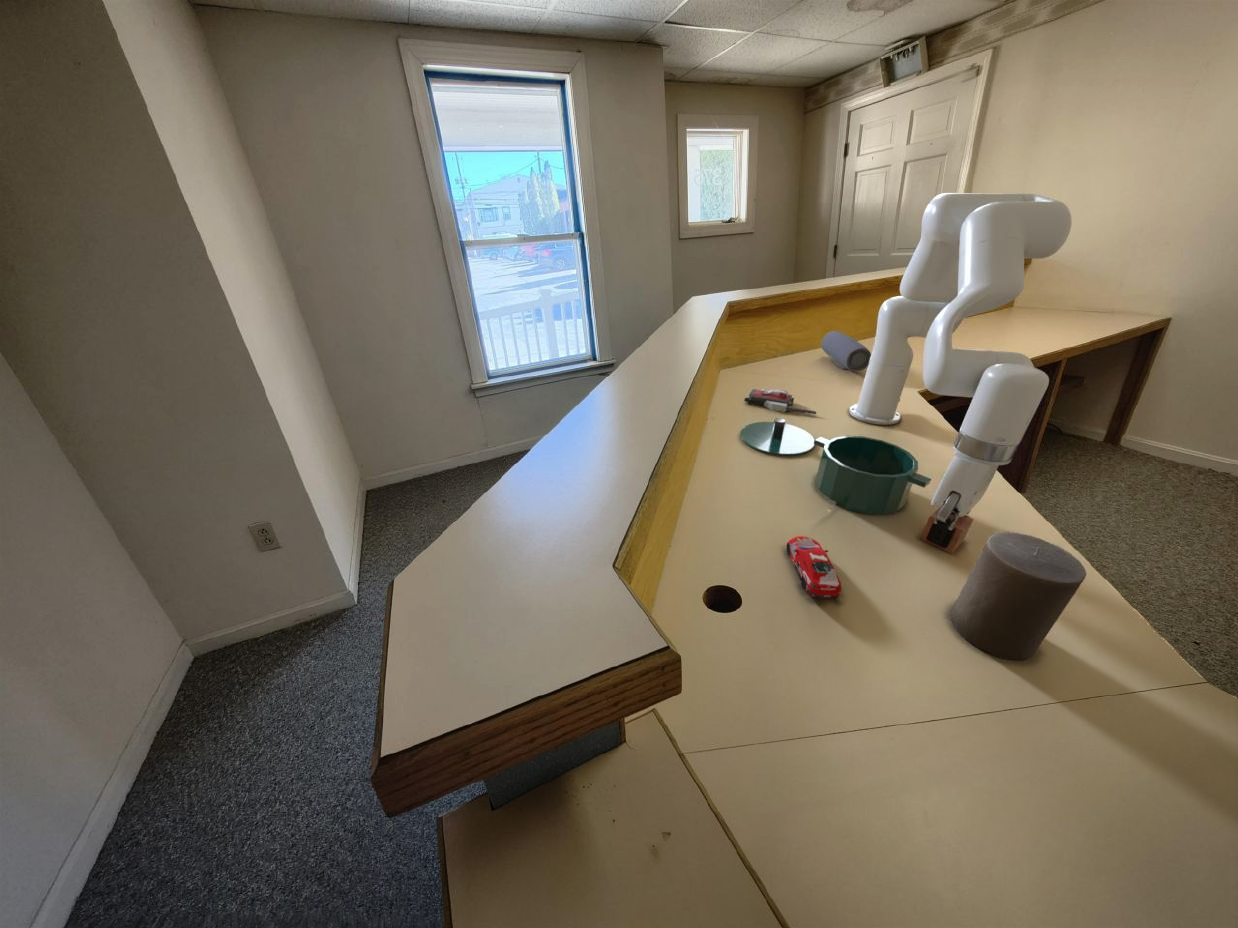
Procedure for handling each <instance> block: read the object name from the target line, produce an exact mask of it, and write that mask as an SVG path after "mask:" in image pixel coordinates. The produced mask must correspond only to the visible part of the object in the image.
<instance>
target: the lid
mask: <svg viewBox="0 0 1238 928" xmlns="http://www.w3.org/2000/svg"><path fill="white" fill-rule="evenodd" d="M739 438H740V440H741V442H742V443H744V444H745V445H746V446H748V448H751V449H752V450H755V451H757V452H759V453H764V454H766V455H767V454H768V455H771V456H777V457H778V456H781V457H795V456H801V455H805V454H808V453H809V452H811V451H812V450H813V449H814V448H815V446H816V445H815V444H814V440H815V438H814V437H813V436H812V434H811V433H810V432H808V431H807V430H805V429H803V428H801V427H799V426H795V425H793V424H789V423H786V419H785V418H782V417H776V418H774V420H773V421H758V422H752V423H749V424H747V425H745V426H743V428H741V430H740V433H739Z"/></svg>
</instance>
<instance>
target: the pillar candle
mask: <svg viewBox="0 0 1238 928" xmlns="http://www.w3.org/2000/svg"><path fill="white" fill-rule="evenodd" d="M1086 577H1087V571H1086V568H1085V566H1084V565H1083V564H1082V562H1081V561H1080V560H1079V559H1078V558H1076V557H1075V556H1074V555H1073V554H1072V553H1071V552H1070V551H1068V550H1065V549H1064V548H1063V547H1061V546H1059V545H1057V544H1054V543H1052V542H1049V541H1046V540H1044V539H1042V538H1040V537H1036V536H1033V535H1030V534H1025V533H1019V532H1013V531H1012V532H1011V531H1010V532H1009V531H996V532H994V533H993V534H992V535H990V536H989V538H988V539H987V541H986V542H985V544H984V547H983V549H982V551H981V553H980V555H979V557H978V559H977V560H976V563H975V564H974V565H973V568H972V570H971V572H970V573H969V576H968V577H967V580H966V581H965V583H964V585H963V586H962V588H961V590H960V592H959V594H958V596H957V598H956V600H955V602H954V605H953V607H952V608H951V609H952V610H951V613H950V619H951V622H952V624H953V627H954V628H955V629H956V631H957V632H958V633H959V635H960V636H961V637H962V638H963V639H965V640H966V641H967V642H969V643H970V644H971V645H972V646H974V647H975V648H977V649H979V650H981V651H983V652H985V653H986V654H990V655H992V656H995V657H997V658H1000V659H1003V660H1011V661H1023V660H1027V659H1030V658H1031V657H1033V655H1035V653H1037V651H1038V649H1039V648H1040V646H1041V644H1042V643H1043V641H1044V640H1045V638H1046V637H1047V636H1048V634H1049V633H1050V631H1051V629H1052V628H1053V627H1054V625H1055V624H1056V623H1057V621H1058V619H1059V618H1060V617H1061V615H1062V613H1063V612H1064V610H1065V609H1066V608H1067V605H1069V603H1070V601H1071V600H1072V599H1073V597H1074V595H1075V594H1076V592H1077V591H1078V590H1079V588H1080V586H1081V585H1082V584H1083V582H1084V581H1085V579H1086Z"/></svg>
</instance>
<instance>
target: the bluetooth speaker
mask: <svg viewBox="0 0 1238 928" xmlns="http://www.w3.org/2000/svg"><path fill="white" fill-rule="evenodd" d="M820 347H821V349H822V350H823V352H824V353H825V354H826V355H827V356H828V357H829V358H831V360H832V363H834V364H835V365H836V366H837V367H839V368H840V369H843V370H848V371H851V372H854V373H855V372H861V371H864V370H865V369H866V368H868V365H869V361H870V357H871V354H872V352H870V349H868V348H867V347H866V346H864V345H863V343H861V342H859V341H858V340H856V339H854V338H853V337H851V336H849V335H847V334H845V333H843V332H840V331H838V330H837V331H836V330H832V331H829V332H827V333H826V334H825V335H824V336H823V337H822V339H821V342H820Z"/></svg>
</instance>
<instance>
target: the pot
mask: <svg viewBox="0 0 1238 928" xmlns="http://www.w3.org/2000/svg"><path fill="white" fill-rule="evenodd" d="M814 444H815V445H814V446H818V447H820V448H822V454H821V458H820V461H819V465H818V470H817V472H816V477H815V481H814V484H815V485H816V486H817V489H818V491H819V492H820V493H822V495H824V496H825V497H827V498H828V500H831V501H833V502H835V506H838V507H840V508H843V509H844V510H848V511H852V512H854V513H860V514H865V515H875V516H877V515H878V516H882V515H883V516H884V515H890V514H893V513H896V512H898V511H900V510H901V509H902V508H903V507H904V505H905V504H906V502H907V499H908V497H909V494H910V491H911V489H912V486H913V484H914V485H916V486H919V487H921V488H926V487H927V486H929V485H930V484H931V481H932V478H930V477H928V476H925V475H923V474H920V473H918V470H919V461H918V460H917V459H916V457H915V456H914V455H913V454H912V453H911V452H910V451H907V450H906V449H904V448H903V447H901V446H899V445H897V444H894V443H891V442H888V441H885V440H883V439H878V438H872V437H868V436H861V435H842V436H836V437H833V438H831V439H827V438H825V437H823V436H819V437H818V438H814Z"/></svg>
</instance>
